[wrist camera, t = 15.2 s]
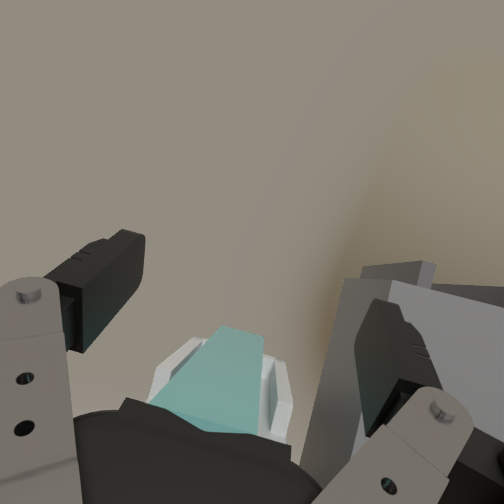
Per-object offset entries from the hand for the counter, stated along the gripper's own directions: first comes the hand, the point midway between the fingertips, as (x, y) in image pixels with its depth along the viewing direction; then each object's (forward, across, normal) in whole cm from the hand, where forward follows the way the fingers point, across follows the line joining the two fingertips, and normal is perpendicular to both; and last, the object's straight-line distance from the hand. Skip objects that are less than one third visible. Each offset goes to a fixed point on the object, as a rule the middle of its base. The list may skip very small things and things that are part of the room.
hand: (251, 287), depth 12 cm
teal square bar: (+4, 0, +13) cm, 14 cm away
